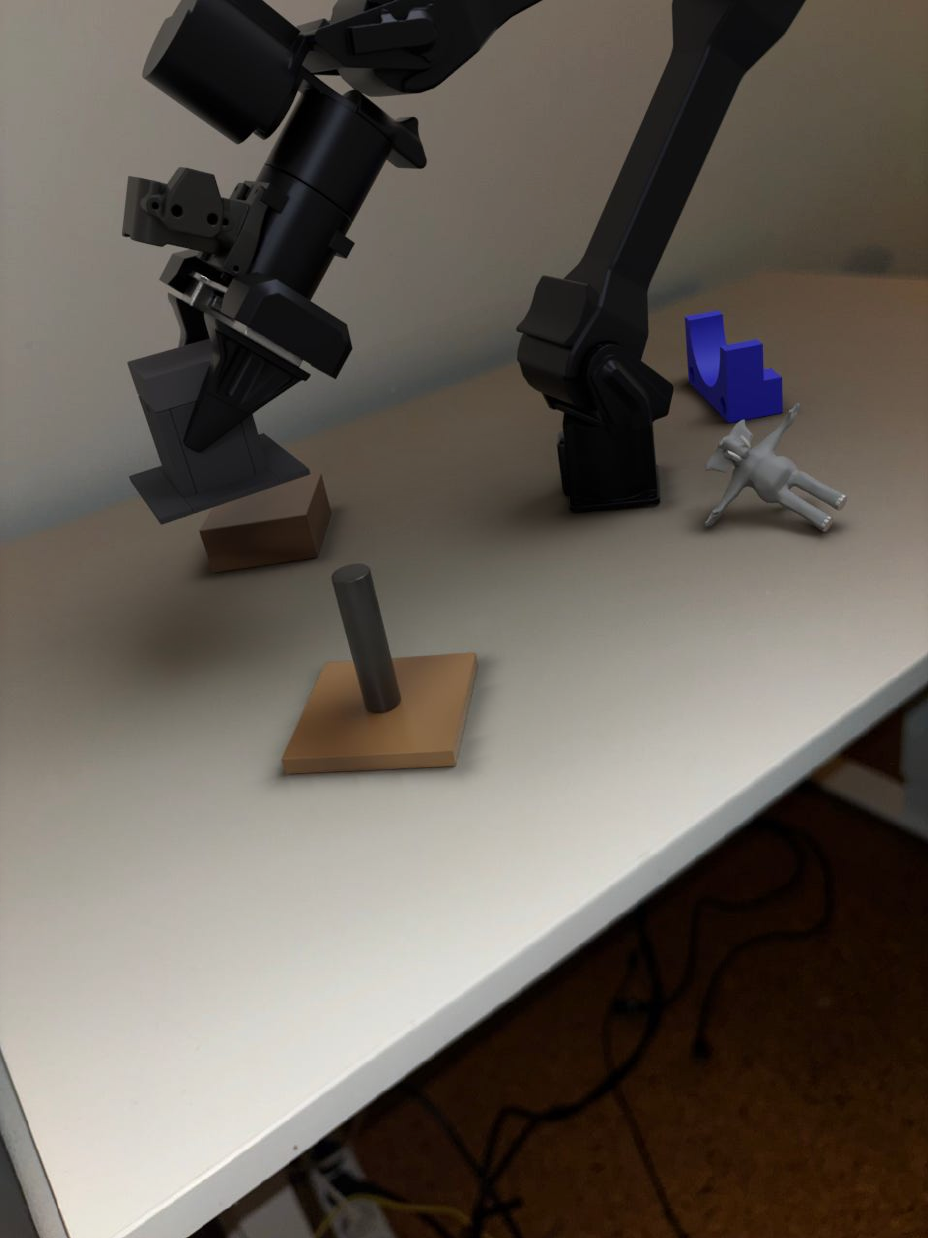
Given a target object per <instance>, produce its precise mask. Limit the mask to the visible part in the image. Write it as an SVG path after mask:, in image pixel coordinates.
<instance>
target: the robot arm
mask: <svg viewBox="0 0 928 1238" xmlns="http://www.w3.org/2000/svg"><path fill="white" fill-rule="evenodd" d="M542 1H543V0H337V1H336V2H335V3H334V5H333V7H332V12H331V16H330V19H329V20H328V19H327V18H319V19H316V20H313V21H308V22H306V23H302V24H299V25H297V26H295V25H294V24H293V23H292V22H290V21H289V20H288V19H287V18H285V17H284V16H283V15H282V14H280V12H278V11H277V10H275V9H274V8H273V7H272V6H271V5H269V4H268V3H267V2H266V1H264V0H180V1H179V2H178V4H177V6H176V8H175V10H174V11H173V13H172V15H170V16H168V17H166V18H164V20H163V22H162V24H161V26H160V28H159V30H158V31H157V34H156V36H155V38H154V40H153V43H152V45H151V47H150V49H149V52H148V54H147V56H146V59H145V62H144V64H143V68H142V73H141V76H142V79H144V80H145V81H146V82H148V83H149V84H151V85H152V86H153V87H155V88H156V89H157V90H159V91H160V92H161V93H163V94H164V95H166V96H168V97H169V98H170V99H171V100H173V101H175V102H176V103H177V104H179V105H180V106H181V107H183V108H184V109H186V110H187V111H188V112H190V113H191V114H193V116H196V117H197V118H199V119H200V120H201V121H203V122H204V123H206V124H207V125H208V126H210V127H211V128H213V129H214V130H215V131H217V132H218V133H220V135H222V136H224V137H225V138H227V139H228V140H229V141H231V142H232V143H233V144H235V145H240V144H242V143H244V142H245V141H246V140H247V139H248V138H250V137H251V135H252V134H254V135H255V136H256V137H258V138H259V139H260V140H261V141H265V140H268V139H269V138H270V137H272V135H274V133H275V132H276V131H277V130H278V128H280V125H281V124H282V123H283V121H284V120H285V118H286V117H287V115H288V113H289V112H290V110H291V107H292V105H293V103H294V101H295V99H296V97H297V94H298V93H300V95H299V97H298V99H297V101H296V103H295V105H294V106H293V108H292V110H291V112H290V114H289V116H288V118H287V119H286V122H285V124H284V125H283V127H282V129H281V131H280V133H279V135H278V137H277V139H276V140H275V143H274V144H273V146H272V148H271V150H270V152H269V154H268V156H267V158H266V159H265V162H264V163H263V165H262V167H261V169H260V171H259V172H258V175H257V177H256V178H255V181H253V180H244V181H243V182H237V184H236V185H235V186H234V188H233V191H232V192H231V194H230V196H229V198H227V197H223V196H222V195H221V192H220V188H219V186H218V182H217V179H216V176H215V174H214V173H210V172H206V171H201V170H198V169H194V168H190V167H185V166H183V167H182V166H179V167H178V168H177V169H176V170H175V171H174V173H173V174H172V175H171V177H170V179H169V180H168V182H167V183H165V182H161V181H157V180H153V179H148V178H143V177H139V176H132V175H128V176H127V183H126V190H125V191H126V193H125V199H124V200H125V201H124V209H123V210H124V211H123V218H122V219H123V220H122V229H121V236H122V237H124V238H129V239H130V240H131V241H134V242H137V243H141V244H146V245H150V246H154V247H160V248H163V247H165V246H166V245H168V246H174V247H177V248H183V249H186V250H181V251H178V252H173V253H171V255H170V257H169V259H168V261H167V263H166V264H165V266H164V269H163V271H162V273H161V275H160V277H159V278H158V281H160V282H161V283H163V284H164V285H167V286H168V287H170V288H172V289H173V290H175V291H176V292H179V293H180V294H182V296H181V297H180V298H179V297H178V296H176V295H174V294H172V293H170V292H169V291H168V292H167V300H168V303H169V304H170V305H171V308H172V310H173V314H174V316H175V319H176V321H177V324H178V326H179V331H180V332H179V333H180V335H179V340H178V345H177V348H178V347H181V346H185V345H188V344H192V343H196V342H199V341H203V340H206V339H210V341H211V345H212V349H213V355H212V358H211V361H210V364H209V367H208V370H207V372H206V375H205V378H204V381H203V384H202V386H201V389H200V392H199V395H198V398H197V400H196V403H195V406H194V409H193V412H192V414H191V417H190V420H189V424H188V427H187V430H186V433H185V436H184V439H183V443H184V444H185V446H187V447H188V448H190V449H192V450H194V451H196V452H202V451H203V450H205V449H206V448H207V447H209V446H210V445H211V444H213V443H214V442H215V441H217V440H218V439H219V438H221V437H222V436H223V435H225V434H226V433H227V432H229V431H230V430H232V429H233V428H234V427H236V426H237V425H238V424H240V423H241V422H242V421H244V420H245V419H246V418H248V417H249V416H250V415H252V414H253V415H254V414H255V413H256V412H257V411H259V410H260V409H261V408H263V407H264V406H266V405H268V404H269V403H271V402H272V401H273V400H275V399H276V398H278V397H279V396H281V395H282V394H284V393H285V392H287V391H288V390H289V389H291V388H292V387H295V385H297V384H298V383H300V382H302V381H303V382H307V381H308V380H309V379H310V378H311V376H312V374H311V373H309V372H308V371H306V370H305V369H303V368H301V365H302V363H303V361H304V362H305V363H307V364H308V365H310V366H311V367H312V368H314V369H315V370H317V371H319V372H321V373H323V374H325V375H326V376H328V377H330V378H332V379H333V380H337V378H338V376H339V375H340V373H341V371H342V369H343V368H344V365H345V363H346V362H347V360H348V358H349V357H350V355H351V352H352V351H353V344H352V340H351V336H350V335H351V334H350V330H349V326H348V324H347V323H346V322H345V321H343V320H341V319H340V318H338V317H336V316H335V315H333V314H332V313H331V312H329V311H327V310H325V309H324V308H323V307H321V306H319V305H318V304H316V303H315V302H313V301H312V299H313V297H314V295H315V294H316V292H317V290H318V289H319V286H320V284H321V283H322V280H323V279H324V277H325V275H326V273H327V271H328V269H329V268H330V266H331V264H332V263H333V260H334V258H335V257H337V258H342V259H345V260H347V259H348V257H349V256H350V253H351V252H352V250H353V248H354V246H355V244H356V243H355V242H354V241H353V240H351V238H349V237H347V234H348V233H349V230H350V228H351V227H352V225H353V223H354V221H355V219H356V218H357V216H358V214H359V211H360V210H361V208H362V206H363V205H364V202H365V200H366V199H367V197H368V195H369V193H370V191H371V189H372V188H373V186H374V184H375V182H376V180H377V178H378V176H379V175H380V173H381V171H382V169H383V167H384V165H385V163H386V162H389V163H390V164H391V165H392V166H394V168H397V169H411V170H413V169H414V170H423V169H424V168H425V167H427V164H428V159H427V156H426V151H425V149H424V145H423V142H422V140H421V136H420V133H419V119H418V118H417V117H416V116H400V117H398V118H393V117H392V116H391V115H390V114H389V113H387V112H386V111H384V110H383V108H380V106H378V105H377V104H376V103H374V101H372V100H371V99H369V97H370V98H382V97H393V96H395V97H396V96H405V95H415V94H416V95H417V94H422V93H426V92H428V91H431V90H434V89H436V88H437V87H438V86H440V85H442V84H443V82H445V81H446V80H447V79H448V78H450V77H451V76H452V75H453V74H454V73H455V72H456V71H458V70H459V69H461V67H463V66H464V65H465V64H466V63H468V62H469V60H470V59H472V58H473V57H474V56H476V55H477V54H478V53H479V52H480V51H481V49H482V48H484V46H485V45H486V44H487V42H488V41H489V40H490V38H491V37H492V36H493V35H494V34H495V32H497V30H499V29H500V28H501V27H502V26H504V25H505V24H506V23H507V22H508V21H509V20H511V19H512V18H513V17H515V16H517V15H519V14H520V13H522V12H524V11H526V10H528V9H530V8H531V7H533V6H535V5H537V4H539V3H540V2H542ZM807 1H808V0H672V1H671V27H672V29H671V30H672V31H671V32H672V49H671V53H670V56H669V58H668V61H667V63H666V65H665V67H664V70H663V72H662V74H661V77H660V78H659V82H658V83H657V86H656V88H655V90H654V92H653V95H652V97H651V99H650V102H649V104H648V105H647V109H646V110H645V113H644V116H643V118H642V120H641V123H640V125H639V127H638V129H637V132H636V134H635V136H634V139H633V141H632V143H631V145H630V148H629V150H628V153H627V155H626V157H625V160H624V162H623V164H622V167H621V168H620V170H619V173H618V176H617V178H616V180H615V183H614V185H613V187H612V189H611V191H610V194H609V196H608V199H607V201H606V203H605V205H604V208H603V210H602V212H601V214H600V216H599V220H598V221H597V224H596V226H595V229H594V230H593V233H592V235H591V238H590V240H589V242H588V245H587V247H586V249H585V250H584V254H583V256H582V257H581V259H580V260H579V262H578V263H577V265H576V266H575V267H574V268H572V269H571V271H569V272H568V274H566V276H564V277H563V278H561V277H557V276H551V275H546V274H544V275H543V274H542V276H541V277H540V279H539V280H538V282H537V284H536V286H535V289H534V293H533V296H532V300H531V302H530V303H531V304H530V306H529V309H528V311H527V312H526V314H525V316H524V318H523V319H522V320H521V322H519V324H518V325H517V326H515V327H516V328H515V331H516V332H518V333H521V334H522V335H521V337H520V339H519V343H518V346H517V350H516V351H517V352H516V360H517V362H518V364H519V368H520V371H521V375H522V378H524V380H525V381H526V383H527V384H528V386H530V387H531V388H533V390H535V391H537V392H539V393H541V394H542V396H543V398H544V401H545V403H546V404H547V406H548V408H549V409H551V410H554V411H556V410H557V411H559V412H561V413H563V417H562V423H561V425H562V430H561V431H560V432H558V436H557V441H556V450H557V457H558V465H559V473H560V480H561V482H560V483H561V489H562V494H563V495H564V496H565V497H569V498H568V509H569V512H570V513H579V512H580V513H581V512H591V511H601V510H602V511H603V510H611V509H622V508H632V507H641V506H653V505H657V504H660V503H661V488H660V473H659V470H660V469H659V465H658V464H657V458H656V456H657V455H656V445H655V444H656V443H655V433H654V432H655V431H654V422H655V421H657V420H661V419H663V418H665V417H667V416H668V415H669V413H670V408H671V403H672V399H673V396H674V390H675V387H674V384H673V383H671V382H670V381H669V380H668V379H666V378H665V377H663V376H662V375H661V374H660V373H658V372H657V371H656V370H654V369H653V368H651V367H650V366H649V365H648V364H647V363H645V362H644V361H643V360H642V358H643V355H644V352H645V349H646V345H647V342H648V339H649V333H650V332H649V330H650V329H649V300H648V298H649V297H648V295H649V294H648V292H649V289H650V285H651V282H652V281H653V278H654V276H655V273H656V271H657V269H658V267H659V264H660V262H661V260H662V258H663V256H664V253H665V251H666V250H667V247H668V244H669V242H670V240H671V238H672V236H673V233H674V232H675V228H676V226H677V224H678V222H679V221H680V218H681V216H682V213H683V211H684V209H685V206H686V205H687V202H688V200H689V198H690V196H691V193H692V192H693V189H694V187H695V184H696V183H697V180H698V177H699V176H700V173H701V171H702V169H703V167H704V164H705V162H706V160H707V158H708V156H709V154H710V151H711V149H712V147H713V145H714V142H715V141H716V138H717V136H718V133H719V131H720V129H721V127H722V125H723V122H724V120H725V118H726V116H727V113H728V111H729V109H730V107H731V105H732V102H733V101H734V98H735V96H736V94H737V91H738V89H739V87H740V84H741V82H742V81H743V80H744V78H745V76H746V75H747V73H749V71H750V70H751V69H753V67H754V66H755V65H757V63H758V62H760V60H761V59H762V58H764V56H766V54H768V52H769V51H771V50H772V48H773V47H775V46H776V45H777V44H778V43H779V41H781V40H782V39H783V38H784V37H785V35H786V34H787V33H788V32H789V29H791V27H792V25H793V23H794V22H795V20H796V18H797V17H798V15H799V13H800V12H801V11H802V9H803V8H804V6H805V4H806V2H807ZM318 76H327V77H328V76H329V77H331V76H332V77H340V78H341V79H342V80H343V81H344V82H345V83H346V84H347V85H348V86H349V87H351V88H352V89H350V90H348V91H346V92H345V93H343V94H341V93H339V92H338V91H336V90H335V89H334V88H332V87H330V86H329V85H328V84H327V83H325V82H324V81H323V80H322V79H320V78H318Z"/></svg>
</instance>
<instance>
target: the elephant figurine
mask: <svg viewBox="0 0 928 1238" xmlns="http://www.w3.org/2000/svg"><path fill="white" fill-rule="evenodd" d="M800 407H801V404H800V403H799V402H795V404H794V405H793V407H792V408H791V409H789V410H787V413H786V414H785V415H784V418H783V421H782V422H781V424H780V425H779V426H778V427H777V428H776V429H774V430H773V431H772V432H771V433H770V434H768V435H767V436H766V437H765V438H764V439H763V440H761V441H760V442H759V443H758V444H757V445H755V446H753V447H752V445H751V443H752V439H753V437H754V434H753V433H752V432H751V431H750V430H749V429H748V427H747V425H746V420H741V421H737V422H736V423H735V424H734V426H733V427H732V428H731V431H730V432H729V433H728V435H726V436H723V437H722V438H720V440H719V441H718V443H717V448H716V450H715V452H714V453H713V454H712V455H711V456H710V457H709V458H708V459H707V461H706V463H705V467H704V470H705V472H710V471H716V472H721V473H723V474H724V473H725V474H726V473H727V471H729V470H730V469H731V468H733V467H734V468H733V470H732V474H731V477H730V479H729V480H730V481H729V483H728V485H727V488H726V490H725V492H724V494H723V495H722V497H721V499H720V501H719V503H718V505H717V506H716V507H715V508H714V509H713V510H711V512H710V513H709V516H708V518H707V520H706V521H704V526H705V527H706V528H708V527H711V526H713V524H715V522H717V521H718V520H719V519H720V518H721V517H722V516H723V514H724V512H725V511H726V509H727V508H728V507H729V505H730V504H731V503H732V502H733V501H734V500H735V499H736V498H738V496H739V495H740V493H741V492H742V491H743V490H744V489H745V488H747V487H749V488H752V489H753V491H755V493H756V495H757V496H758V497H759V499H761V500H762V501H764V502H765V503H769V504H779V505H780V506H782V507H784V508H785V509H787V510H789V511H791V512H792V513H794V514H796V515H798V516H799V517H802V518H803V519H805V521H807V522H808V523H810V524H811V525H812V526H814V527H815V528H816V529H818V530H820V531H822V533H823V532H824V533H825V532H827V531H829V529H830V528H831V527H832V525H833V522H834V517H833V516H830V515H828V514H827V513H825V512H823V511H822V510H820V509H818V507H816V506H814V505H812V504H811V503H809V502H808V501H806V500H804V499H803V498H801V497H800V496H798V495H797V494H796V493H793V492H792V491H791V489H792V488H793V487H796V488H797V489H800V490H801V491H804V492H806V493H808V494H809V495H811V496H813V497H815V498H816V499H818V500H819V501H822V502H823V503H825V504H827V505H828V506H830V507H832V508H833V509H834V510H836V511H841V510H842V509H843V508H844V507H845V506H846V504H847V501H848V497H849V496H848V495H846V494H844V493H842V492H841V491H838V490H836V489H835V488H832V487H830V486H827V485H826V484H824V483H822V482H821V481H819V480H817V479H816V478H814V477H813V476H811V475H810V474H808V473H806V472H805V471H802V470H799V469H798V467H797V465H796V464H795V463H794V462H793V460H791V459H790V458H788V457H787V456H785V455H779V456H778V455H776V454H775V450H776V448H777V447H778V446H779V444H780V441H781V439H782V438H783V435H784V434H785V432H786V431H787V430H788V429H789V428H791V427H792V425H794V423H795V420H796V416H797V415H798V414H799V412H800ZM751 447H752V448H751Z"/></svg>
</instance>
